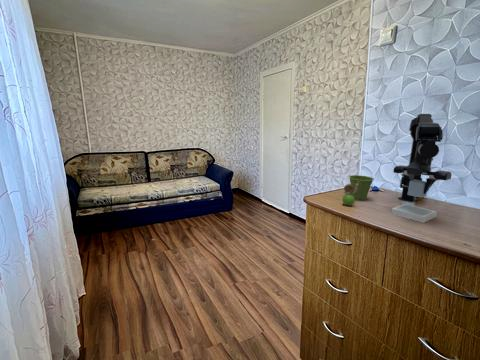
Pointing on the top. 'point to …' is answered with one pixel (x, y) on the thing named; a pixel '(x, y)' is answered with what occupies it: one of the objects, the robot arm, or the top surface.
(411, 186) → the block
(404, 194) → the robot arm
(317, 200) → the top surface
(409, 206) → the base
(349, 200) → the snail figurine
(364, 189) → the plant pot
